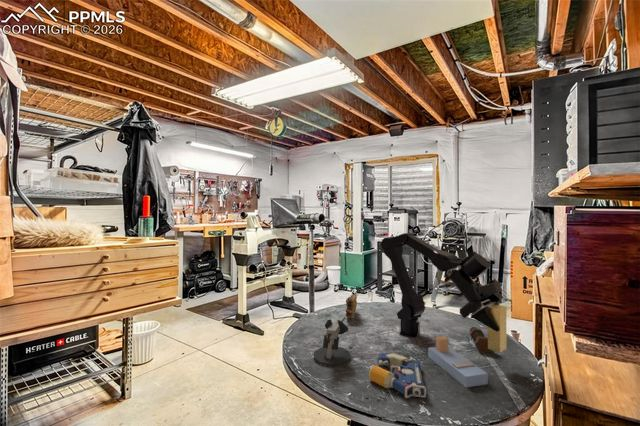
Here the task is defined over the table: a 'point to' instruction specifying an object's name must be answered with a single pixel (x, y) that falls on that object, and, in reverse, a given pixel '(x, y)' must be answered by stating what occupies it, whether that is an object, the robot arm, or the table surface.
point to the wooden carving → (351, 305)
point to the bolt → (479, 340)
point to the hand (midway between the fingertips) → (501, 329)
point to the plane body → (456, 364)
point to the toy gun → (399, 374)
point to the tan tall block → (498, 338)
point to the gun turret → (333, 346)
